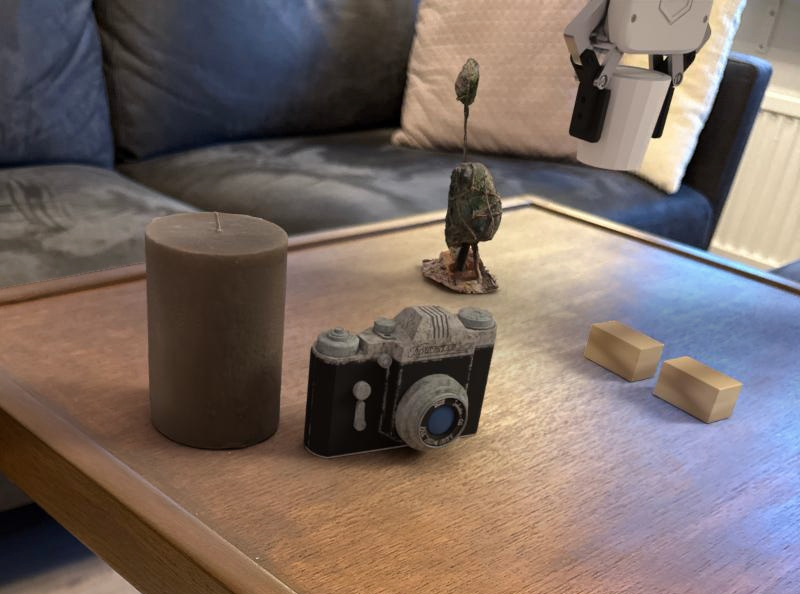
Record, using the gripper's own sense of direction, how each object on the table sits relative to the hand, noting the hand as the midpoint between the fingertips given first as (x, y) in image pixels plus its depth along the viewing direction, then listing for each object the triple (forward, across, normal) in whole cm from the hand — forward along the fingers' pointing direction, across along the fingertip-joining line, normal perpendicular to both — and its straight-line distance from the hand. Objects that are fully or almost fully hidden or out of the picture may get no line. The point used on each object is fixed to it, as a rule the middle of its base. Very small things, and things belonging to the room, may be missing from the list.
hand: (615, 135), depth 84 cm
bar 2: (+17, -2, -18) cm, 25 cm away
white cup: (+2, 0, 0) cm, 2 cm away
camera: (+17, -30, -13) cm, 37 cm away
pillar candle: (+17, -41, -4) cm, 44 cm away
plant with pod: (+17, -3, +13) cm, 22 cm away
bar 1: (+17, -2, -9) cm, 19 cm away
